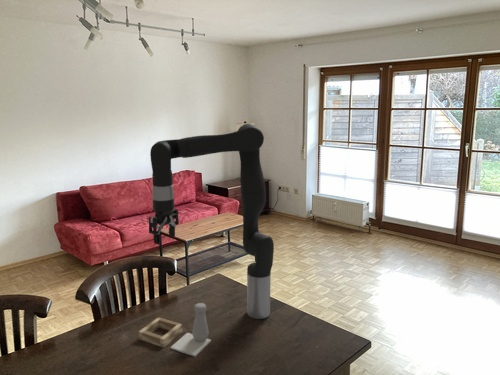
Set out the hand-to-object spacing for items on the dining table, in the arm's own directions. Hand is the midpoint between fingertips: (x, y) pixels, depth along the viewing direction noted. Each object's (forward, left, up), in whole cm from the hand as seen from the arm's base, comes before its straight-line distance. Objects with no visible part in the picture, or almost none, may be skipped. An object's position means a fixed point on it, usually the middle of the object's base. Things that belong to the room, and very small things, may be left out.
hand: (164, 240), depth 145 cm
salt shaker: (+4, +18, -33) cm, 37 cm away
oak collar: (+8, +3, -33) cm, 34 cm away
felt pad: (+8, +16, -33) cm, 38 cm away
